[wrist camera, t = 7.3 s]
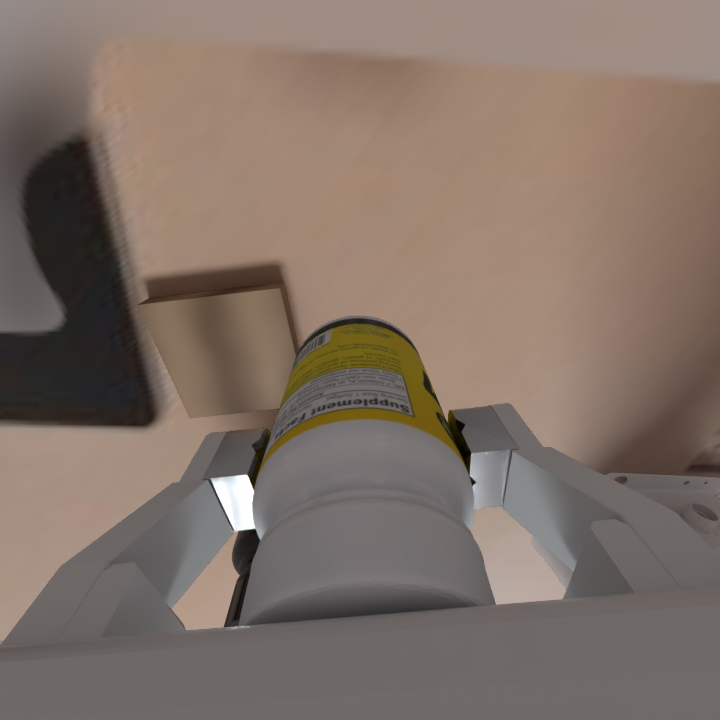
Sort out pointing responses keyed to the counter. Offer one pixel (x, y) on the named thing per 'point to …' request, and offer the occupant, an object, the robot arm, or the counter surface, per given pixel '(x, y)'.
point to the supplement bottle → (361, 488)
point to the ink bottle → (241, 572)
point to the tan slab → (225, 347)
